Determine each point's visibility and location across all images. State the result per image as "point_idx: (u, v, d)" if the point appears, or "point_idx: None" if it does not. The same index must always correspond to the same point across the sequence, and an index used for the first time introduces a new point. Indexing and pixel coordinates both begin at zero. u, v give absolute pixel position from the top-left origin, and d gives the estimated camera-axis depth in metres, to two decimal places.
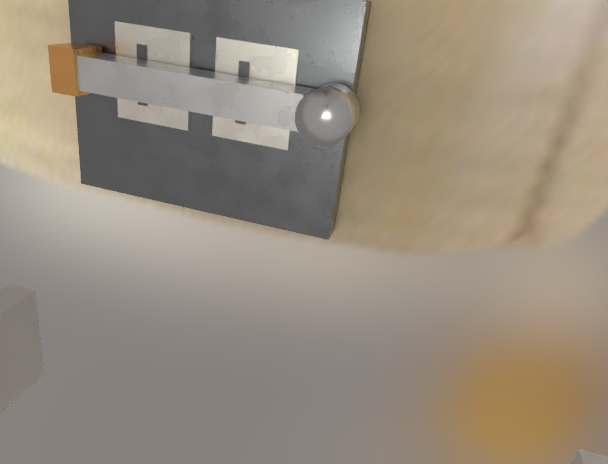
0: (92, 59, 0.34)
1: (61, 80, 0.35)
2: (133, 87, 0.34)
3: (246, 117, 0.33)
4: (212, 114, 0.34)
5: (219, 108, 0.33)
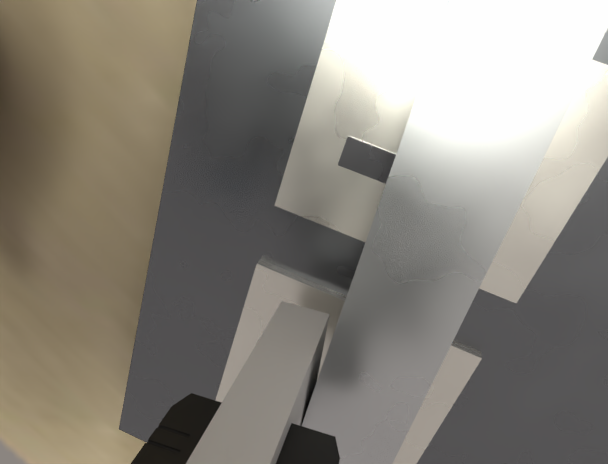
0: None
1: None
2: None
3: (514, 175, 0.09)
4: (472, 290, 0.10)
5: (457, 262, 0.10)
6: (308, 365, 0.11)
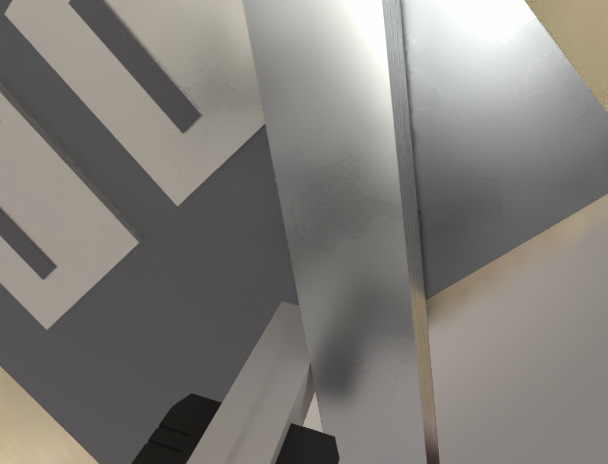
0: None
1: None
2: (389, 463, 0.12)
3: (373, 103, 0.09)
4: (399, 230, 0.10)
5: (371, 209, 0.10)
6: (307, 365, 0.11)
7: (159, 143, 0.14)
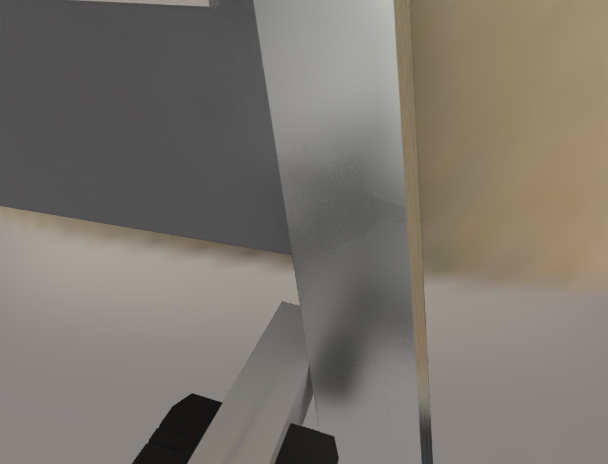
0: None
1: None
2: (384, 463, 0.12)
3: (381, 105, 0.09)
4: (402, 233, 0.10)
5: (375, 211, 0.10)
6: (307, 365, 0.11)
7: None
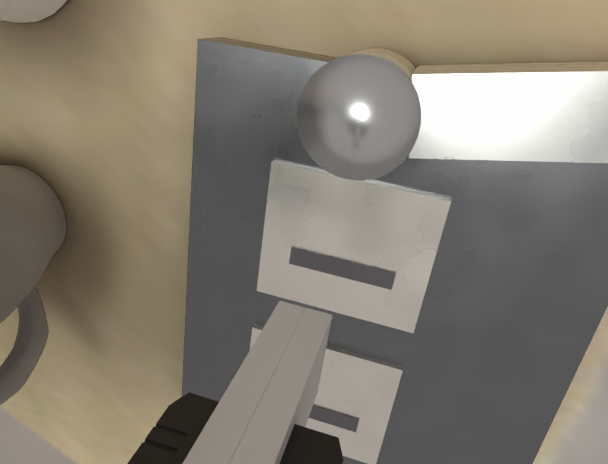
0: None
1: None
2: None
3: (554, 84, 0.13)
4: None
5: None
6: (311, 366, 0.11)
7: (380, 303, 0.21)
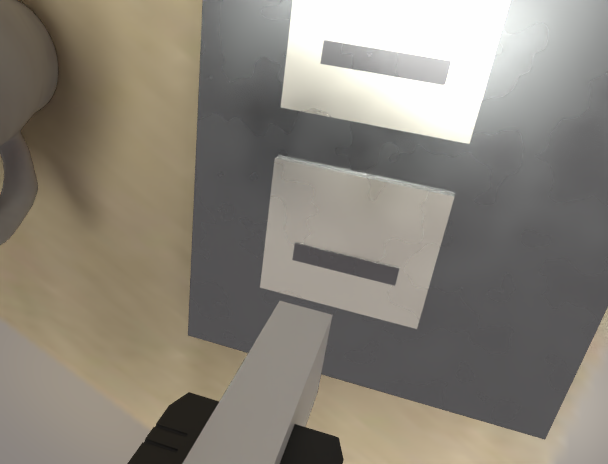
0: None
1: None
2: None
3: None
4: None
5: None
6: (311, 366, 0.11)
7: (430, 107, 0.17)
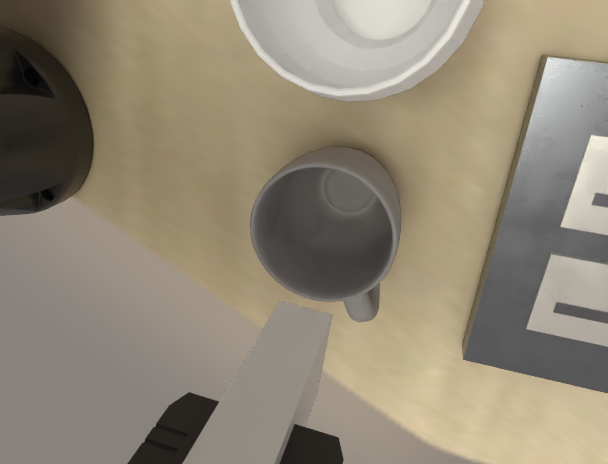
0: None
1: None
2: None
3: None
4: None
5: None
6: (311, 366, 0.11)
7: None
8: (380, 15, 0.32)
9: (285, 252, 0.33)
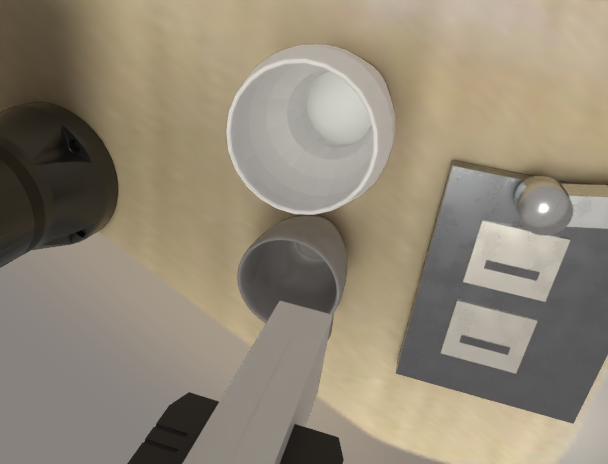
0: None
1: None
2: None
3: None
4: None
5: None
6: (311, 366, 0.11)
7: (529, 287, 0.43)
8: (338, 123, 0.44)
9: (263, 292, 0.45)
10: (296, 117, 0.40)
